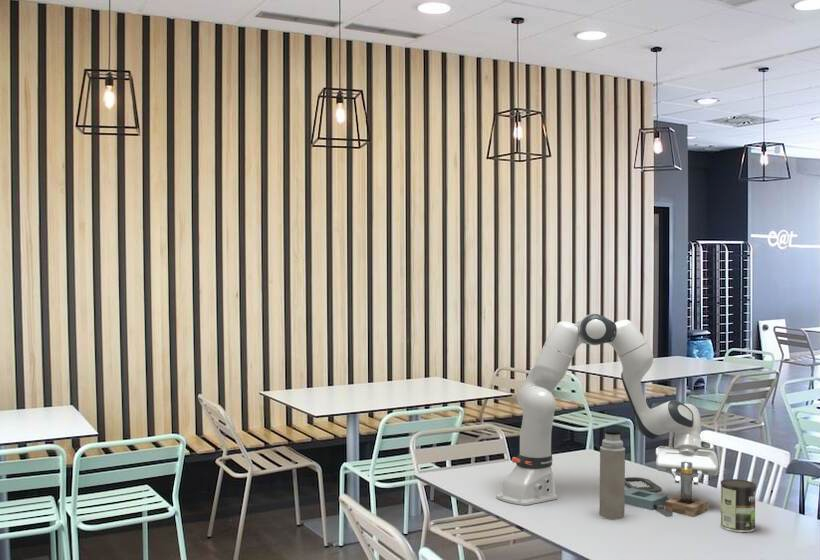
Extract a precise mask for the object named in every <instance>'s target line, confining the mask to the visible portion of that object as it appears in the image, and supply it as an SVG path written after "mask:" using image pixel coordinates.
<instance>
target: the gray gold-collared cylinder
mask: <svg viewBox="0 0 820 560" xmlns="http://www.w3.org/2000/svg"><path fill="white" fill-rule="evenodd" d="M692 472H693V468H692V463H691V462H681V473H680V496H681V503H686V504H691V503H692V498H693V474H692Z"/></svg>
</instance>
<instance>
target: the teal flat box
mask: <svg viewBox="0 0 820 560" xmlns="http://www.w3.org/2000/svg"><path fill="white" fill-rule="evenodd" d="M668 498H669V497H668V495H667V494H662V493H659V492H649V491H645V490H640V489H636V488H629V487H628V488H626V489H625V505H629V506H633V507H638V508H641V507H642V508H641V509H645V508H646V509H647V510H650V511H655V510H654V504H661V505H663V506H664V507H665V501H667V500H668Z"/></svg>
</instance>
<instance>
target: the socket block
mask: <svg viewBox="0 0 820 560" xmlns="http://www.w3.org/2000/svg"><path fill="white" fill-rule="evenodd" d="M708 503H709V502H708V501H706V500H702V499H697V498H693V497H692V503H691V504H686V503H681V495H678V496H675V497H673V498H671V499H667V501H665V505H664V508H665V509H667V510H669V511H671V512H672V513H674V514H678V515H683V514H684V516H687V515H688V516H687V517H692V518H694V517H696V516H698V515H701V514H702V513H705V512H708Z"/></svg>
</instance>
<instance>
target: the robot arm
mask: <svg viewBox="0 0 820 560" xmlns="http://www.w3.org/2000/svg"><path fill="white" fill-rule="evenodd" d="M582 344H588V345H591V346H599V345H603V344H609V345H611V347H612V348H613V349H614V351H615V353H616V354H617V356H618V359H619V361H620V363H621V366H622V372H621V374H620V378H621V382H622V386H623V389H624V391H625V393H626V396H627V398H628V402H629V403H630V406H631V409H632V411H633V414H634V416H635V417H634V418H635V421H636V425H637V428H638V429H637V430H638V431H639V432H640V434H641V435H642V436H645V437H646V438H647V439H650V440H656V439H658V438H660V437H662V436H664V435H665V434H668V433H670V432H673V433H674V439H673V446H671V445H660V446H657V447H656V448H655V456H656V460H655V469H656V470H657V471H658V472H668V473H671V476H672V477H673V478H674V483H675V484H680V475H679V476H678V475H677V473H679V474H681V462H691V463H692V468H693V472H692V475H697V476H696V477H693V485H697V486H699V481H701V478H702V476H717V475H718V474H719V461H718V455H717V453H716V451H715V445H714V444H713V443H711V442H708V441H705V440H703V439H702V438H701V432H702V419H701V414H700V411H699V409H698V408H697V406H695V405H694V404H690V403H682V402H681V401H679V400H676V399H672V400H669V401H667V402H664V403H663V402H662V403H661V404H660V405H657V406H655V407H653V408H650V407H649V406H648V404H647V401H646V398H645V396H644V393H643V390H642V387H641V382H642V380H643V378H644V376H645V375H646V374H647V373H648V372H649V370H650V369H651V367H652V365H653V363H654V354H653V350H652V348H651V347H650V344H649V343H648V342H647V340H646V338H645V337H644V335H643V334H642V332H641V331H640V330H639V328H638V327H637V326H636V325H635V324H634V322H633V321H631V320H630V319H621V320H618V321H615V322H614V321H612V320H611V319H610V318H607V317H606V316H604V315H602V314H598V313H590V314H587V315H585V316H584V317H583V318H582V319H580V321H578V322H576V323H573V322H570V321H566V320H565V321H562V320H561V321H559V322H557V323H556V324H555V326H554V327H553V328H552V330H551V331H550V333H549V334H548V336H547V338H546V340H545V342H544V344H543V347H542V349H541V350H540V353H539V355H538V357H537V359H536V361H535V364H534V365H533V367H532V368H531V370H530V371H529V373H528V374H527V376H526V378H525V379H524V381H523V383H522V385H520V387H518V390H517V392H516V402H517V404H518V406H519V408H520V409H521V410H522V412H523V413H522V421H521V427H520V431H519V453H518V455H517V457H516V456H513V457H512V458H511V462H512V463H514V464H516V465H515V467H514V468H513V470H512V471H510V473H509V475H507V476H506V478H505V479H504V481H503V486H502V491H500V492H499V493H497V494H496V495H495V498H496V499H497V500H500V501H503V502H505V503H509V504H515V505H521V506H530V505H533V504H538V503H544V502H549V501H553V500H558V495H557V494H556V488H555V487H556V486H555V476H554V475H555V474H554V473H553V470H552V466H553V455H552V430H553V423H554V419H555V418H554V417H555V411H556V410H557V409H556V408H557V405H556V403H557V402H556V398H555V397H554V395H553V392H554V390H555V389H556V387H557V386H558V384H559V383H560V382H561V381H562V380H563V379H564V378H565V375H566V374H567V371H568V369H569V367H570V364H571V362H572V360H573V358H574V356H575V353H576V351H577V349H578V348H579V347H580V345H582Z"/></svg>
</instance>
